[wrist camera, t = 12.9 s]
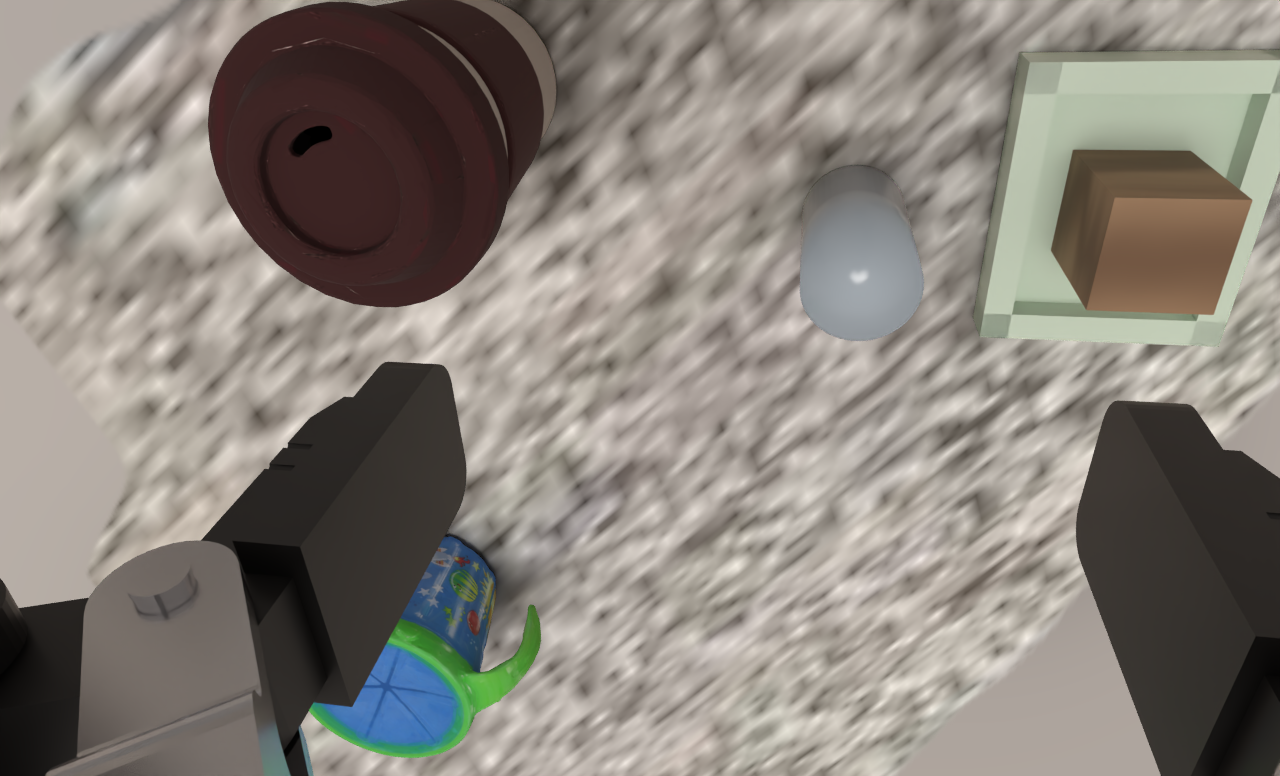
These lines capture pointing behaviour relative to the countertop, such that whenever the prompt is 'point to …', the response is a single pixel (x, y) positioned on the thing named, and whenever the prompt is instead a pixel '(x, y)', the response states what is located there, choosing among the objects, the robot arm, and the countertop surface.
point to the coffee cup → (380, 140)
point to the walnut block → (1147, 231)
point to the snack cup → (434, 664)
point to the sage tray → (1120, 120)
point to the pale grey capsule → (858, 255)
